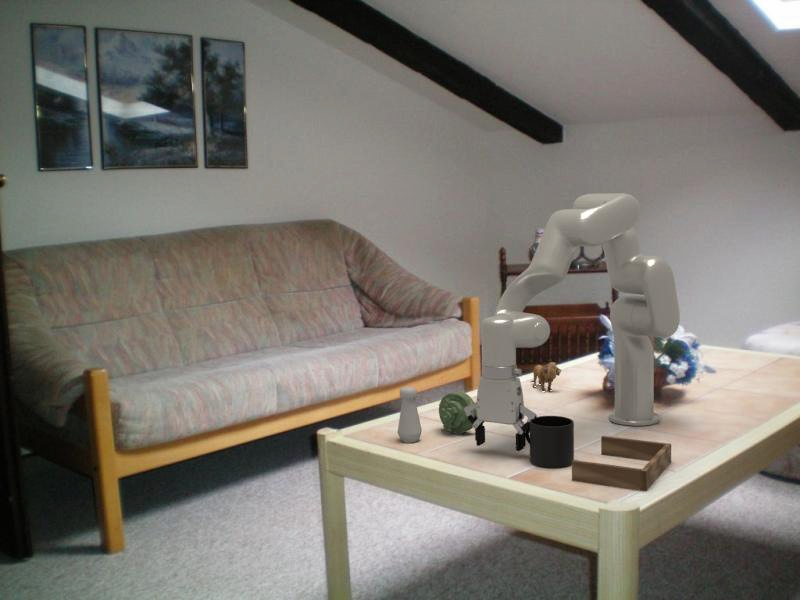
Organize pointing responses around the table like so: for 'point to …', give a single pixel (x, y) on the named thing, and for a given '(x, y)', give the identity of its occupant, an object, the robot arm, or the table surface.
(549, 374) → the lion figurine
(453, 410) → the decorative artifact
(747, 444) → the table surface
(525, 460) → the table surface
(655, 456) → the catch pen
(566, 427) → the mug
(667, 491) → the table surface
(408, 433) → the salt shaker
